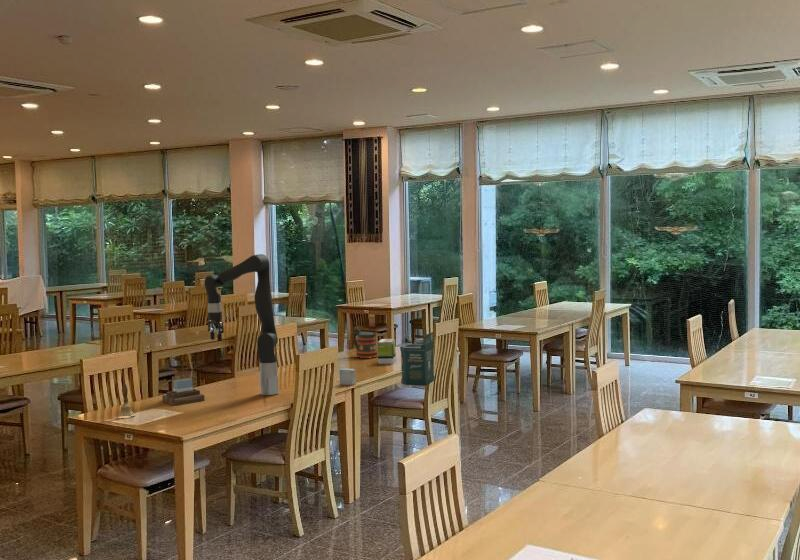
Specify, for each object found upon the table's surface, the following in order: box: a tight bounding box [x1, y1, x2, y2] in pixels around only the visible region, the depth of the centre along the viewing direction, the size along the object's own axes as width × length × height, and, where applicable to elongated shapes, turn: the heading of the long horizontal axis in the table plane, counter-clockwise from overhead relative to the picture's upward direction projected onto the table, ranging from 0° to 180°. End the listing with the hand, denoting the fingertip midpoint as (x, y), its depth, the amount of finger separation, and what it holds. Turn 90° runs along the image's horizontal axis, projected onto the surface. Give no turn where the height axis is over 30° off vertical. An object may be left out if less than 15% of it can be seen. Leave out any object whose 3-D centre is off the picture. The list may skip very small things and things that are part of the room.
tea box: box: [376, 338, 397, 365], centre depth 525 cm, size 15×10×15 cm
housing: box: [172, 377, 194, 394], centre depth 417 cm, size 9×4×8 cm, turn 130°
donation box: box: [399, 331, 436, 387], centre depth 450 cm, size 16×16×28 cm
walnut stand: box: [162, 388, 205, 406], centre depth 418 cm, size 16×16×5 cm
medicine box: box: [339, 368, 356, 386], centre depth 451 cm, size 8×4×9 cm, turn 71°
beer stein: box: [352, 327, 378, 359], centre depth 551 cm, size 19×15×20 cm
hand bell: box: [118, 383, 135, 416], centre depth 383 cm, size 8×8×16 cm
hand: (216, 340), depth 442 cm, fingers open, 8 cm apart
